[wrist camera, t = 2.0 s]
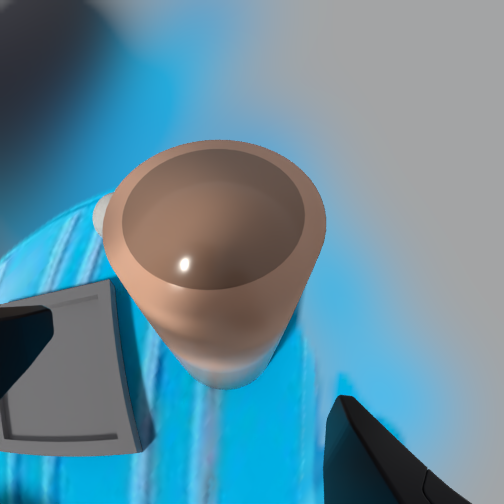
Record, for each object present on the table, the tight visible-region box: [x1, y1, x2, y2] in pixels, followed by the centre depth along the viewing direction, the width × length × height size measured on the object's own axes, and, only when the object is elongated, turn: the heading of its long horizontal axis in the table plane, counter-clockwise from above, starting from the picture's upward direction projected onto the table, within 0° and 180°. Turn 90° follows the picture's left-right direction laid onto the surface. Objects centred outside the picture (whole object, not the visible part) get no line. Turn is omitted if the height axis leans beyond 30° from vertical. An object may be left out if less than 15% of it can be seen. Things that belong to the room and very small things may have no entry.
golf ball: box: [93, 192, 114, 238], centre depth 22 cm, size 4×4×4 cm
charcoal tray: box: [0, 279, 143, 456], centre depth 16 cm, size 12×12×1 cm
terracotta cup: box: [102, 140, 326, 390], centre depth 13 cm, size 6×6×13 cm
